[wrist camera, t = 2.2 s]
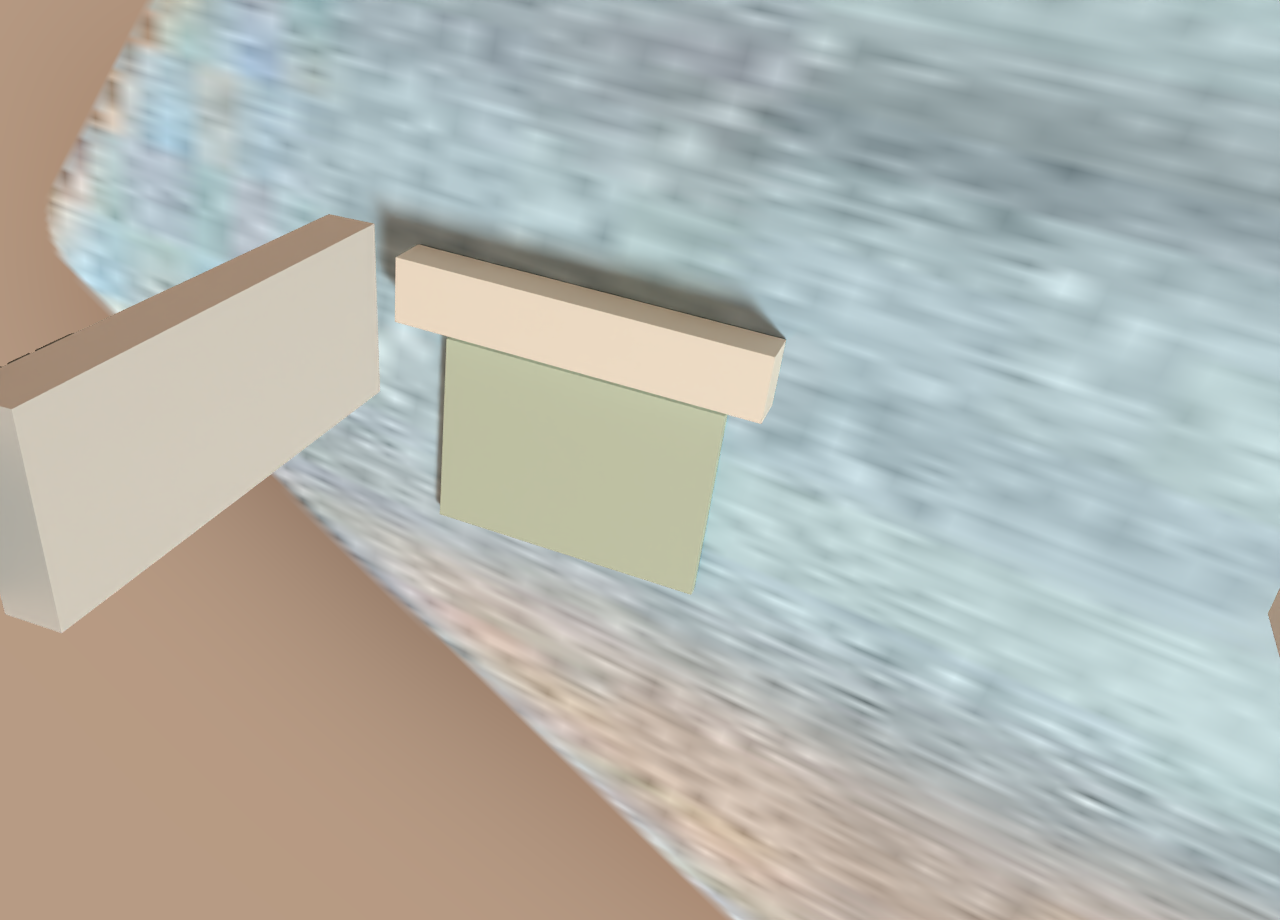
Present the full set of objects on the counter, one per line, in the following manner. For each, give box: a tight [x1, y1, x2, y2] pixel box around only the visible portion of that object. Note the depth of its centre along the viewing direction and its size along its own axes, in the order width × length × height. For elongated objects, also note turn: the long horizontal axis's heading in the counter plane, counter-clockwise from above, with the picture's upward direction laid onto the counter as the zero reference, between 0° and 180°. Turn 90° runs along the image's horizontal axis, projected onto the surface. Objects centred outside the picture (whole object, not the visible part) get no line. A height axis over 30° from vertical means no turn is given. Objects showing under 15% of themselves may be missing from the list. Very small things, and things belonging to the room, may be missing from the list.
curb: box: [395, 244, 786, 424], centre depth 39 cm, size 2×14×2 cm, turn 82°
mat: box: [440, 337, 727, 594], centre depth 42 cm, size 8×11×1 cm
